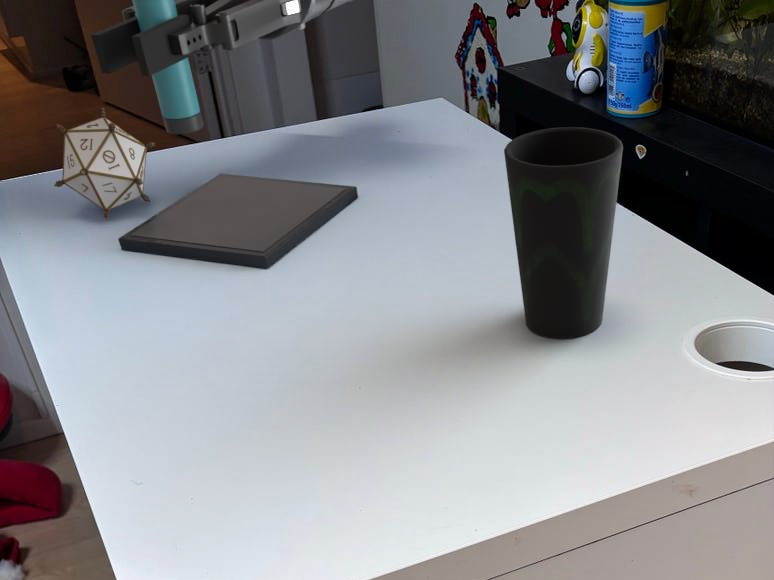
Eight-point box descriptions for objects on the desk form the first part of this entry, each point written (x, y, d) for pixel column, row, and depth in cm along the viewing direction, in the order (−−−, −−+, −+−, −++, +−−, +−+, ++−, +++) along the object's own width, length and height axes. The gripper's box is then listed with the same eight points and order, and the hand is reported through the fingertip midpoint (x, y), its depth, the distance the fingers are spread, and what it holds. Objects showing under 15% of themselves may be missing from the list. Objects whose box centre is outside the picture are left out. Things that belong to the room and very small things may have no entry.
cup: (627, 302, 76) (635, 129, 67) (602, 351, 70) (607, 170, 62) (528, 292, 78) (523, 124, 69) (497, 339, 73) (487, 163, 64)
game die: (128, 239, 100) (125, 132, 99) (174, 223, 94) (172, 109, 93) (37, 218, 93) (33, 103, 92) (81, 200, 88) (77, 77, 87)
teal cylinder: (158, 133, 87) (115, -32, 79) (180, 121, 89) (140, -41, 81) (189, 135, 86) (148, -32, 78) (211, 123, 88) (173, -41, 80)
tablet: (121, 249, 89) (117, 237, 88) (222, 183, 99) (220, 172, 98) (267, 268, 84) (265, 256, 83) (358, 197, 94) (356, 185, 94)
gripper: (360, 33, 94) (219, 113, 79) (213, 27, 100) (55, 102, 84) (347, -64, 89) (194, 2, 74) (194, -65, 94) (21, -3, 79)
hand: (120, 55), depth 79 cm, fingers closed on teal cylinder, 3 cm apart
